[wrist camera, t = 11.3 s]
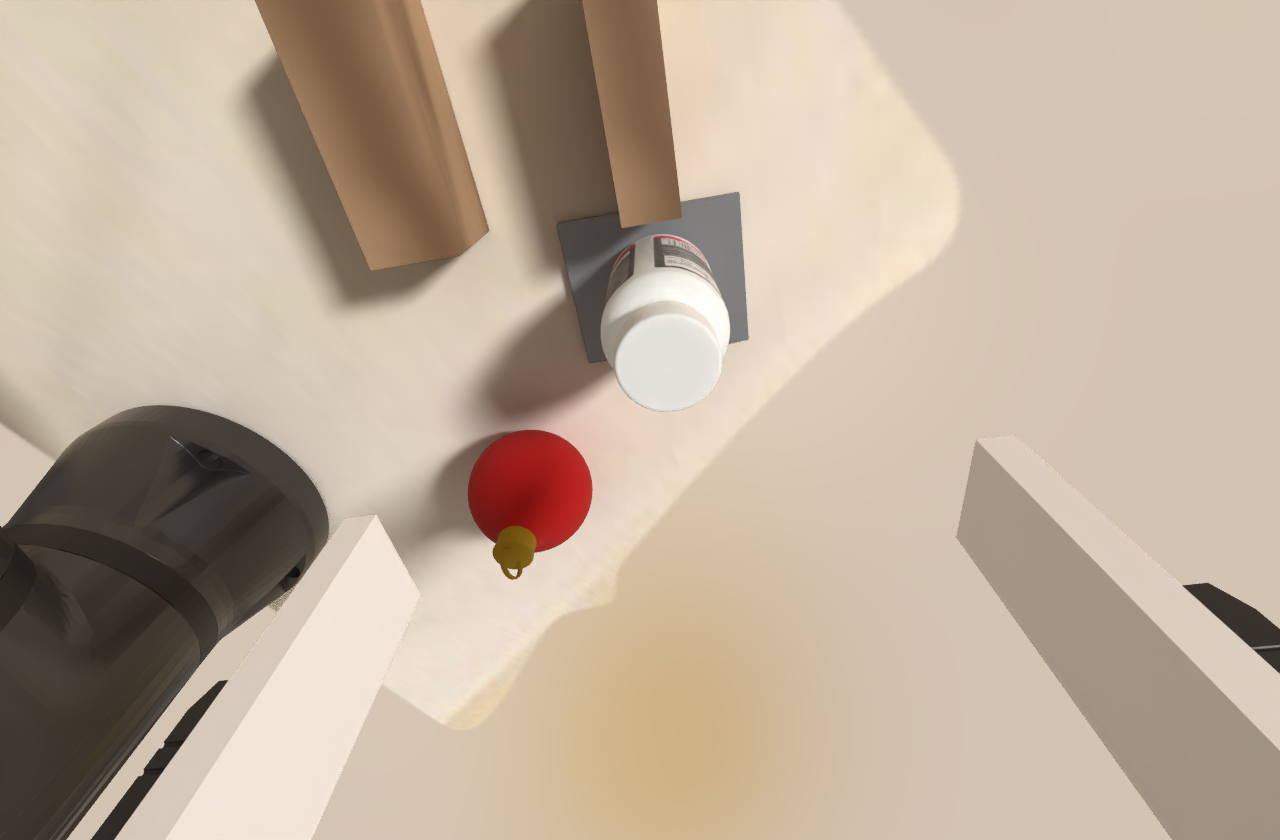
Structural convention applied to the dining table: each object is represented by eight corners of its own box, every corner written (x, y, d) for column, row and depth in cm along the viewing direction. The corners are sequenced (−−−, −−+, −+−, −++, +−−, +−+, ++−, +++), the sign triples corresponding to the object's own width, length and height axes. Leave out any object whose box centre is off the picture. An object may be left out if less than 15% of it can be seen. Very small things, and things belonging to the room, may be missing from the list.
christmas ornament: (616, 474, 35) (606, 598, 26) (526, 512, 36) (489, 638, 28) (559, 389, 31) (526, 498, 23) (463, 435, 33) (399, 552, 25)
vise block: (414, 243, 27) (370, 270, 23) (322, -1, 22) (243, -26, 18) (676, 198, 26) (682, 218, 21) (643, -73, 21) (642, -118, 16)
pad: (589, 360, 30) (589, 363, 30) (557, 223, 26) (556, 224, 26) (747, 336, 29) (748, 339, 29) (738, 191, 26) (739, 193, 25)
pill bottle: (636, 348, 29) (632, 446, 21) (591, 259, 27) (566, 331, 19) (727, 309, 28) (761, 397, 20) (689, 212, 26) (709, 266, 17)
